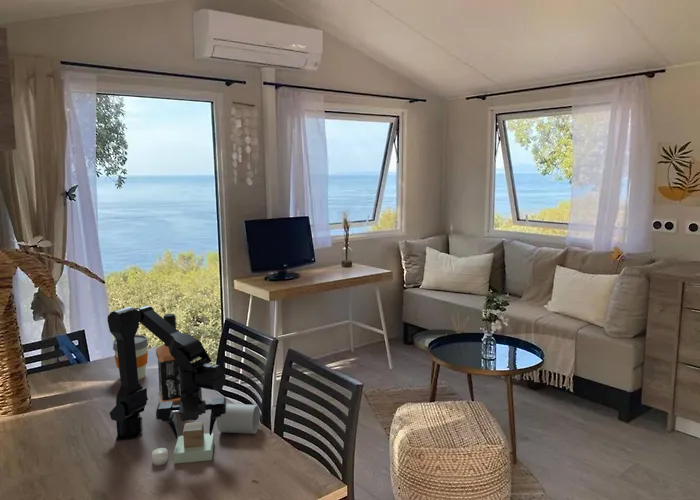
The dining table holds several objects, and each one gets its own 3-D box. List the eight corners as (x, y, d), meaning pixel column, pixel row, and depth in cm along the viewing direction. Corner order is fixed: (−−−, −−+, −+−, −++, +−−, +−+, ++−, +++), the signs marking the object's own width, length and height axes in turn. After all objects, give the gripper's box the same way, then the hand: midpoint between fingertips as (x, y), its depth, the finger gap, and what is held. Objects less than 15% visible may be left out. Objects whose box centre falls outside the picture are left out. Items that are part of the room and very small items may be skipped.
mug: (214, 431, 165) (250, 433, 163) (218, 401, 168) (253, 403, 166) (227, 432, 176) (261, 434, 175) (231, 405, 179) (264, 406, 177)
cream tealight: (151, 466, 151) (150, 456, 151) (154, 458, 155) (153, 448, 155) (166, 464, 152) (166, 454, 151) (169, 457, 156) (168, 447, 155)
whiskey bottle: (193, 407, 187) (187, 316, 182) (162, 414, 183) (155, 320, 178) (187, 396, 196) (181, 309, 191) (158, 402, 192) (151, 312, 187)
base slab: (174, 463, 152) (173, 453, 152) (179, 445, 162) (178, 436, 162) (211, 459, 154) (211, 449, 153) (214, 442, 164) (213, 432, 163)
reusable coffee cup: (132, 385, 207) (129, 346, 205) (108, 379, 212) (105, 342, 210) (157, 373, 218) (154, 336, 216) (133, 368, 224) (130, 333, 221)
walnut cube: (186, 439, 160) (185, 423, 159) (204, 437, 160) (203, 421, 160) (184, 448, 155) (183, 431, 154) (202, 446, 155) (201, 429, 155)
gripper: (150, 399, 145) (154, 454, 148) (223, 393, 148) (226, 447, 151) (157, 382, 156) (161, 434, 159) (225, 377, 159) (227, 428, 162)
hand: (193, 436), depth 157 cm, fingers open, 9 cm apart
